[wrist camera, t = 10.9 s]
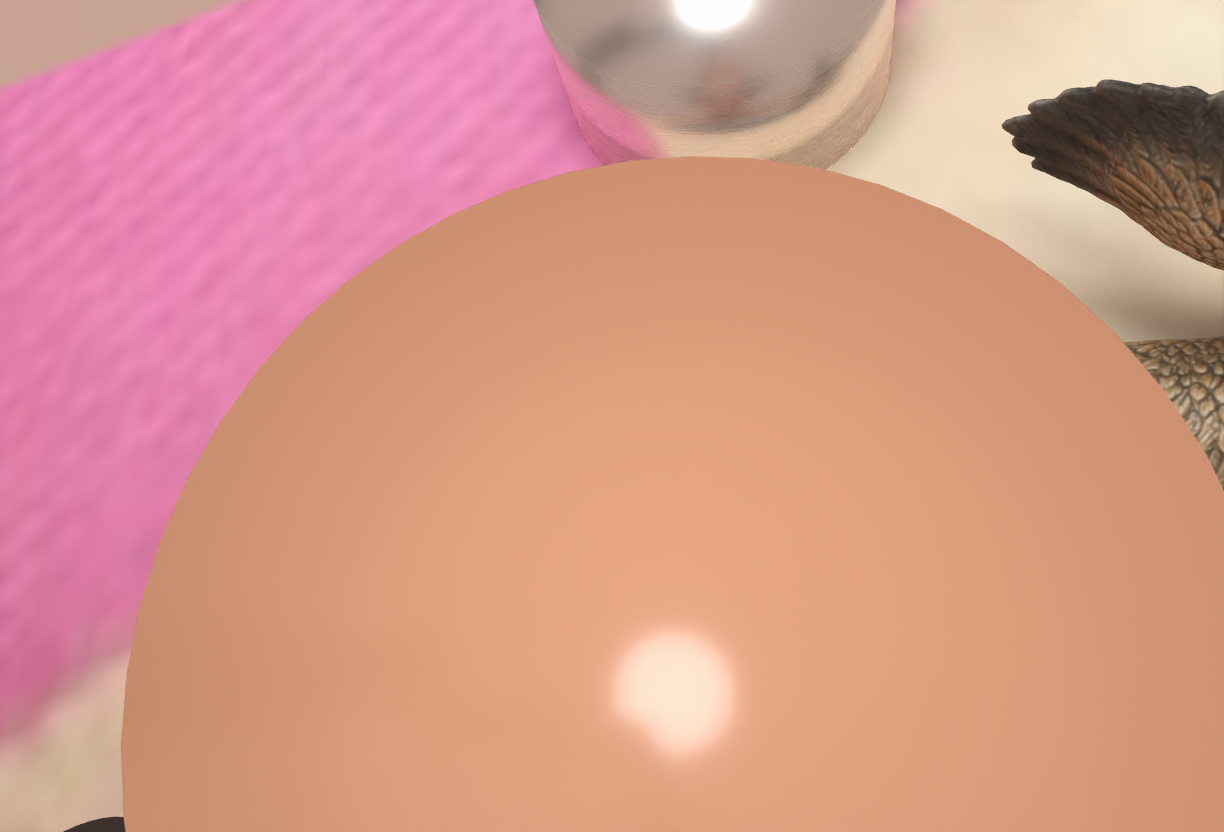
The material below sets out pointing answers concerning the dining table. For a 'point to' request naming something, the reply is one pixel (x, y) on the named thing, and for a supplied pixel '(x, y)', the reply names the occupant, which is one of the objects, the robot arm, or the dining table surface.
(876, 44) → the metal tin
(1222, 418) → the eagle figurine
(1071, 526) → the peach dome-topped cylinder
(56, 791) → the dining table surface
